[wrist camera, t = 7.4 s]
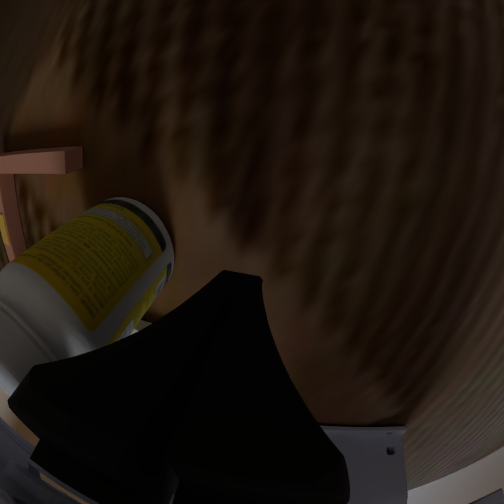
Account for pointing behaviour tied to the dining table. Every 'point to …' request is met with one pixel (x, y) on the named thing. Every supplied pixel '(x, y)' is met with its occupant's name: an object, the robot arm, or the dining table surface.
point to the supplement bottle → (81, 286)
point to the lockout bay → (35, 162)
